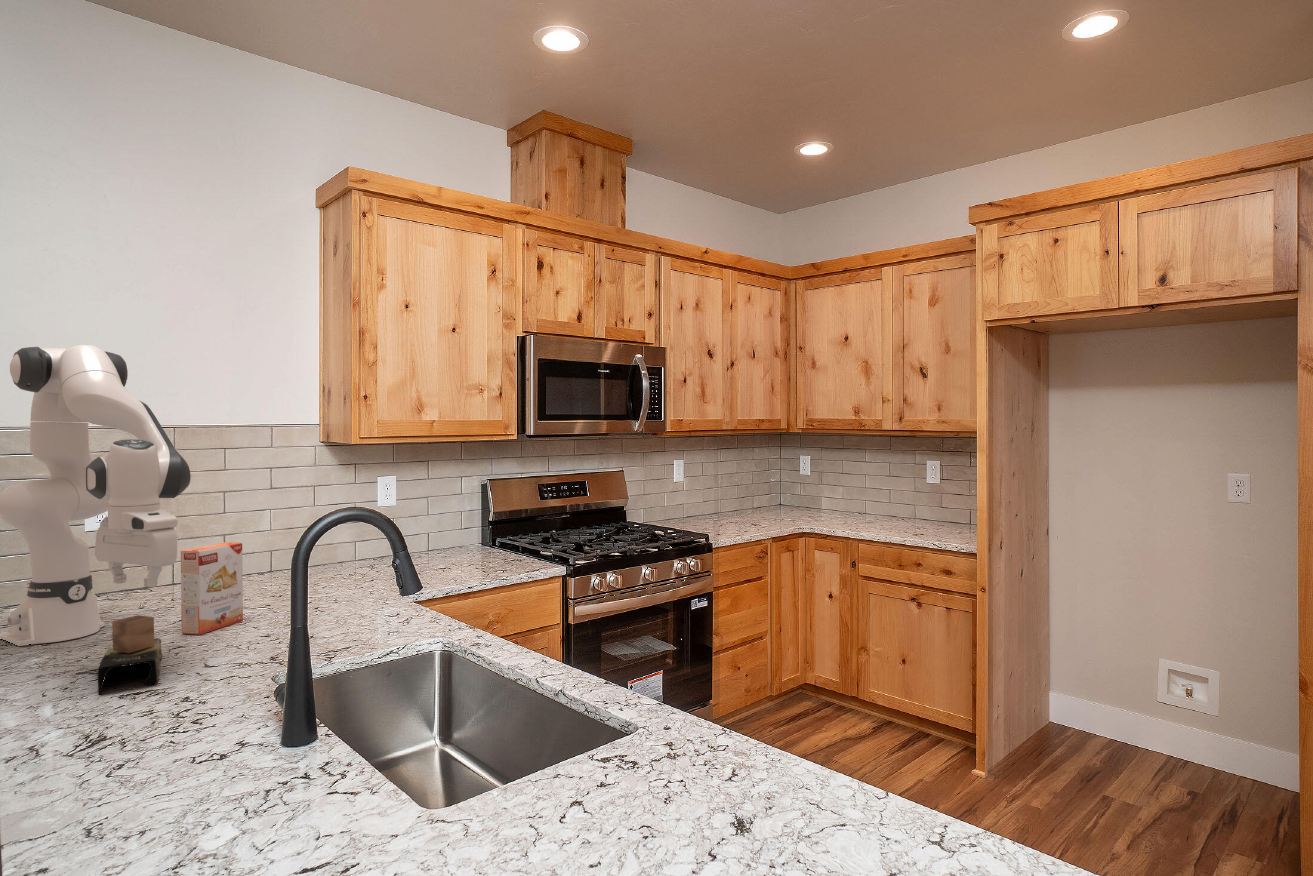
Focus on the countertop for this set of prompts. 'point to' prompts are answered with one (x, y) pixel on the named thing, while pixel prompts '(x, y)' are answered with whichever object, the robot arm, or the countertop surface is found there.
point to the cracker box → (211, 587)
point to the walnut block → (133, 633)
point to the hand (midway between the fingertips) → (135, 584)
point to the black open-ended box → (132, 662)
